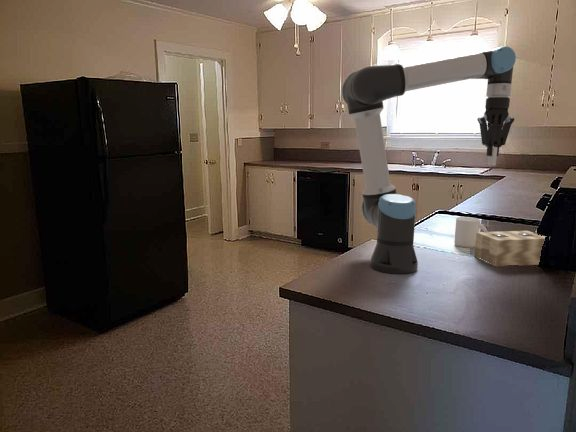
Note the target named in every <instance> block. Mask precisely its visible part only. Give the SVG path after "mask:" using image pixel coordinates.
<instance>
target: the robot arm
mask: <svg viewBox="0 0 576 432" xmlns="http://www.w3.org/2000/svg"><path fill="white" fill-rule="evenodd" d="M516 59H517V58H516V52H515V51H514V49H513V48H511V47H510V46H504V45H503V46H498V47H495V48H493V49H487V50H481V51H476V52H470V53H465V54H461V55H460V54H459V55H454V56H448V57H444V58H439V59H437V58H436V59H434V60H433V59H431V60H427V61H421V62H417V63H411V64H410V63H409V64H405V65H403V64H402V63H400V62H398V63H392V64H384V65H383V64H382V65H369V66H366V67H364V68H361V69H359V70H356V71H353V72H352V73H351V74H349V75H348V76H347V78H346V79H344V82H343V84H342V88H341V95H342V98H343V101H344V102H345V103H346V105H347V111H348V116H350V117H351V118H352V119H354V124H355V132H356V135H357V136H356V138H357V142H358V143H357V144H358V147H359V148H358V149H359V155H360V160H361V166H362V174H363V179H364V185H365V188H364V189H363V190H362V192H361V193H362V199H363V200H362V203H361V213H362V215H363V217H364V219H365V220H366V221H367V222H368V223H369V224H371V225H372V226H374V227H376V229H377V230H376V231H377V233H376V244H375V246H374V249H373V251H372V255H371V257H370V262H369V263H370V265H369V266H370V267H371V268H372V269H373V270H376V271H378V272H381V273H387V274H393V275H394V274H396V275H403V274H404V275H405V274H412V273H414V272H417V270H418V268H419V267H418V265H419V263H418V259H417V255H416V254H417V253H416V251H415V248H414V239H415V227H416V214H417V208H416V207H417V206H416V205H417V204H416V201H415V199H414V198H413V197H411V196H408V195H403V194H399V193H397V189H396V188H397V187H396V186H395V185H394V184H392V183H391V178H390V173H389V166H388V158H387V153H386V152H387V151H386V146H385V145H386V144H385V139H384V133H383V126H382V119H381V112H383V110H384V102H383V101H386V100H389V99H391V98H396V97H400V96H404V95H405V93H406V92H408V91H409V92H410V91H414V90H419V89H423V88H424V89H425V88H429V87H435V86H440V85H446V84H450V83H451V84H452V83H455V82H459V81H460V82H461V81H466V80H474V79H475V80H479V79H480V80H487V85H486V86H487V87H486V95H485V96H486V99H485V112H483V115H482V116H481V117H477V122H478V123H479V128H480V139H481V144H482V145H483V146H485V147H486V156H487V162H486V163H487V165H486V166H490V167H491V166H492V167H493V166H494V167H496V166H497V158H498V156H499V155H500V153H499V152H500V148H501V147H502V146H505V145H506V142H507V139H508V136H509V133H510V129H511V127H512V124H513V123H514V121H515V118H514V117H511V116H510V115H509V114H510V113H509V108H510V104H511V103H510V102H511V101H510V100H511V98H510V96H511V90H512V83H513V72H514V65H515V64H516Z"/></svg>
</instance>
